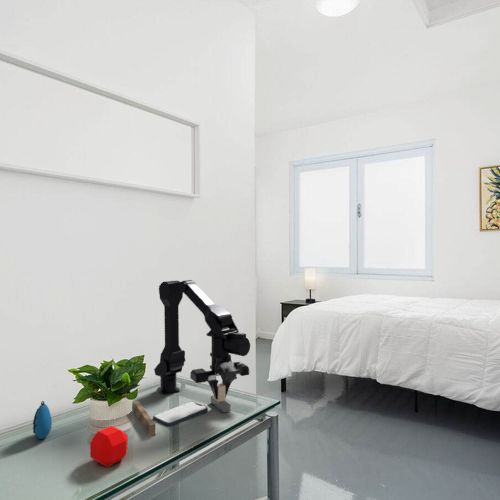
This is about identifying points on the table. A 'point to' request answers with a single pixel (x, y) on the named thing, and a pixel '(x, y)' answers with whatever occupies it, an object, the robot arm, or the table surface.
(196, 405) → the smartphone
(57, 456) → the table surface
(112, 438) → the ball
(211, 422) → the table surface
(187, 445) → the table surface
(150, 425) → the walnut bar
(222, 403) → the scraper
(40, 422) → the ornament
